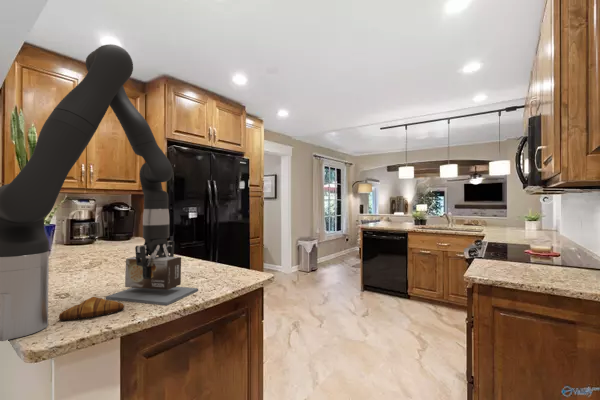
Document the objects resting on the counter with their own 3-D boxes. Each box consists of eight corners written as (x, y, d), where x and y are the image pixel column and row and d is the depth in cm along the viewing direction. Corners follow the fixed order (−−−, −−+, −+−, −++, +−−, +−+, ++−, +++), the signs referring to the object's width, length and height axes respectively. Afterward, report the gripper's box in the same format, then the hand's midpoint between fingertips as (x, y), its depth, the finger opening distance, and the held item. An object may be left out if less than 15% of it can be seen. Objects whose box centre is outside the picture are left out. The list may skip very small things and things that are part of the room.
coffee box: (140, 282, 95) (181, 285, 90) (124, 287, 89) (166, 291, 84) (141, 254, 95) (181, 256, 91) (125, 257, 89) (167, 260, 85)
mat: (166, 305, 79) (166, 302, 79) (105, 299, 85) (105, 296, 85) (198, 290, 92) (198, 288, 92) (143, 286, 98) (143, 283, 98)
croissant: (124, 307, 79) (124, 289, 79) (123, 315, 73) (123, 295, 73) (62, 317, 72) (62, 297, 72) (55, 326, 66) (55, 305, 66)
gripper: (147, 224, 82) (147, 282, 82) (181, 222, 96) (181, 271, 95) (127, 224, 84) (127, 281, 84) (163, 222, 98) (163, 270, 97)
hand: (156, 276), depth 89 cm, fingers closed on coffee box, 6 cm apart
